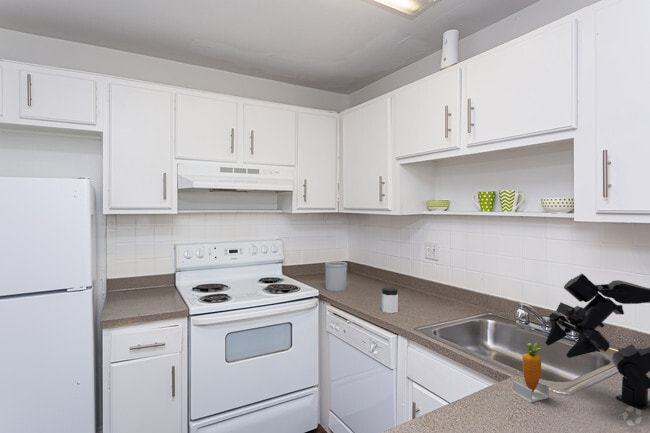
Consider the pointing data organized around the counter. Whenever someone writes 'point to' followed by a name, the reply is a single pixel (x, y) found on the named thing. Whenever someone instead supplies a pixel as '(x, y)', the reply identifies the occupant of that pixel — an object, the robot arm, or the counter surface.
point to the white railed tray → (527, 393)
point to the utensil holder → (336, 276)
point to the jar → (389, 300)
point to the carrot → (532, 367)
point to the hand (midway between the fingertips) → (556, 350)
